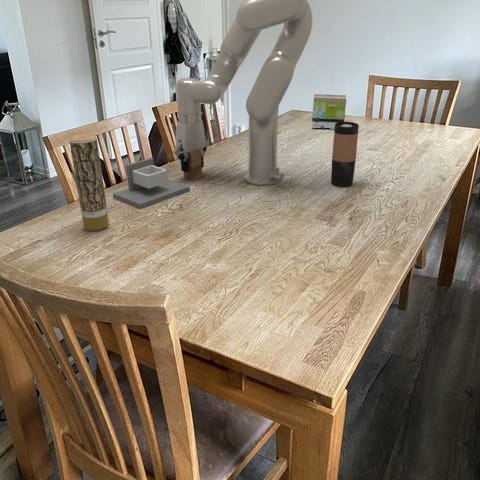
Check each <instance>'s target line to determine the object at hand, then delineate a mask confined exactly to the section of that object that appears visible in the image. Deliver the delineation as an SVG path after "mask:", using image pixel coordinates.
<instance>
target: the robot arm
mask: <svg viewBox="0 0 480 480" xmlns="http://www.w3.org/2000/svg"><path fill="white" fill-rule="evenodd" d="M312 12H313V11H312V9H311V6H310V3H309V1H308V0H245V1H243V2H242V3H240V5H239V6H238V9H237V12H236V17H235V18H234V20H233V21H232V22H233V23H232V24H231V26H230V27H229V30H228V31H227V34H226V35H225V37H224V38H223V40H222V41H221V44H220V48H219V49H220V50H219V54H218V57H217V59H216V61H215V62H214V65H213V66H212V69H211V70H210V72H209V74H208V75H207V77H206V78H205V79H203V80H198V79H197V78H194V77H183V78H180V79H178V80H177V81H176V99H177V113H178V114H177V115H178V122H177V123H176V128H175V148H174V149H173V151H172V153H173V154H174V155H175V156H176V158H178V160H179V161H180V169H181V172H183V173H184V172H189V164H188V161H187V158H188V154H189V153H190V152H193V151H196V150H199V149H201V161H202V169H203V168H204V166H205V163H204V157H205V155H206V151H207V150H208V149H207V148H208V147H209V144H210V142H209V141H208V140H207V139H206V134H205V133H206V131H205V127H204V122H203V120H202V116H203V112H202V107H201V106H202V105H201V104H208V105H213V104H216V103H217V102H219V101H220V100H221V98H222V97H223V96H224V95H225V93H226V91H227V90H228V88H229V86H230V84H231V83H232V81H233V80H234V77H235V76H236V74H237V73H238V70H239V69H240V67H241V65H242V64H243V63H244V62H245V59H246V58H247V57H248V54H249V53H250V51H251V49H252V47H253V46H254V44H255V42H256V40H257V38H258V37H259V35H260V33H261V32H262V31H263V30H265V29H269V28H272V27H274V26H279V25H281V24H283V27H282V30H280V31H281V32H280V33H279V36H278V37H277V40H276V42H275V45H274V47H273V48H272V51H271V53H270V54H269V55H268V57H267V58H266V59H265V61H264V62H263V65H262V67H261V69H260V71H259V72H258V75H257V77H256V78H255V79H256V80H255V82H254V84H253V85H252V87H251V89H250V92H249V94H248V95H247V98H246V101H245V109H246V112H247V114H248V172H247V173H245V175H243V176H244V178H243V179H244V182H246V183H249V184H251V185H255V186H257V185H258V186H270V185H275V184H277V183H279V182H282V181H283V180H284V177H285V173H284V172H283V173H282V172H280V167H277V165H278V164H277V163H278V161H277V160H278V132H279V131H278V127H279V108H280V107H279V106H280V103H282V100H283V98H284V96H285V94H286V92H287V90H288V88H289V86H290V85H291V82H292V80H293V78H294V75H295V69H296V67H297V65H298V62H299V61H300V58H301V56H302V54H303V52H304V49H305V47H306V46H307V44H308V41H309V38H310V36H311V33H312V29H313V13H312ZM184 153H185V155H184ZM183 155H184V156H183Z"/></svg>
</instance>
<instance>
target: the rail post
mask: <svg viewBox="0 0 480 480" xmlns="http://www.w3.org/2000/svg"><path fill="white" fill-rule="evenodd" d="M184 155H185V153H184ZM184 155H183V156H184ZM187 161H188V164H189V172H183V178H185V179H187V180H190V181H196V180H199V179H201V178H203V168H202V161H201V149H199V150H196V151H193V152H190V153H189V154H188V158H187Z"/></svg>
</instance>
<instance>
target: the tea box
mask: <svg viewBox="0 0 480 480" xmlns="http://www.w3.org/2000/svg"><path fill="white" fill-rule="evenodd" d="M346 106H347V97H346V95H345V94H339V95H338V94H319V93H318V94H317V93H315V94H314V97H313V106H312V117H311V129H312V128H331V129H330V130H332V129H335V124H336V123H338V122H345V119H346V118H345V116H346Z"/></svg>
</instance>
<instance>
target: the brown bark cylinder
mask: <svg viewBox="0 0 480 480" xmlns="http://www.w3.org/2000/svg"><path fill="white" fill-rule="evenodd" d="M68 140H69V146H70V152H71V153H70V154H71V159H72V164H73V172H74V176H75V183H76V188H77V189H76V190H77V195H78V201H79V206H80V213H81V219H82V225H83V228H84V229H85V230H87V231H89V232H90V231H91V232H99V231H102V230H105V229H107V228H108V227H109V225H110V224H109V216H108V207H107V200H106V194H105V193H106V192H105V187H104V186H105V185H104V179H103V178H104V177H103V172H102V164H101V159H100V150H99V144H98V143H99V142H98V138H97V135H95V134H91V133H90V134H87V133H86V134H76V135H73V136H71V137H69V139H68ZM98 230H99V231H98Z"/></svg>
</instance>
